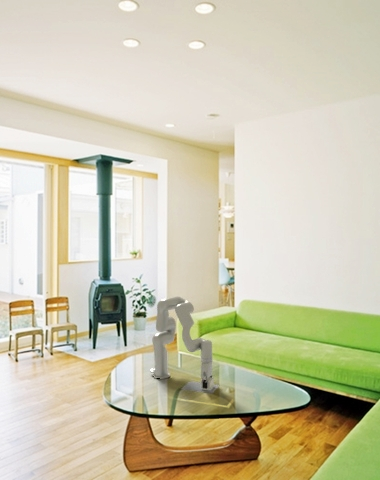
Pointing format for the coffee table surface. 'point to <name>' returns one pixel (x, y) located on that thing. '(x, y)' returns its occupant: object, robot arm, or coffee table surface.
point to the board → (198, 387)
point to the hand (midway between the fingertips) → (207, 385)
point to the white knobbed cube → (209, 384)
